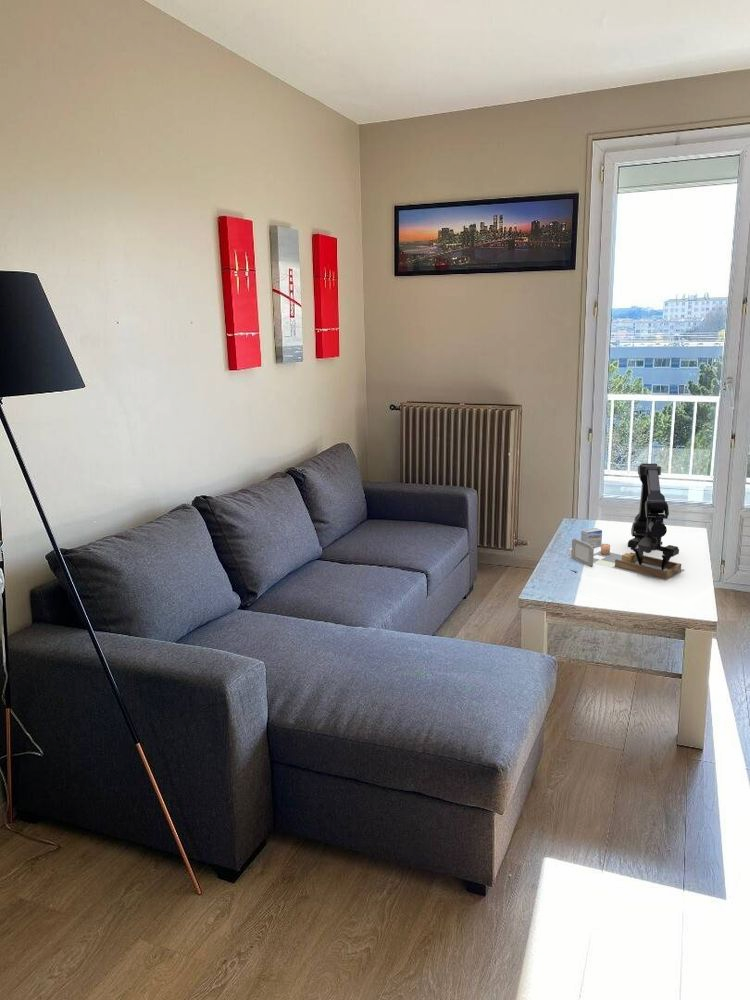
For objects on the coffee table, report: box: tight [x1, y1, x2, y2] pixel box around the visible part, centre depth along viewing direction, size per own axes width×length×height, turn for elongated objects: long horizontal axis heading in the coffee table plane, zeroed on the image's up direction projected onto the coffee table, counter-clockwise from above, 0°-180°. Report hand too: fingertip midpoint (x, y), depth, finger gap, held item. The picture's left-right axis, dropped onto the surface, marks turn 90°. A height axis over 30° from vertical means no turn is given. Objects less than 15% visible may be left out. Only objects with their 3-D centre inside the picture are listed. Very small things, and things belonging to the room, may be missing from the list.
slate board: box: [593, 550, 686, 582], centre depth 304 cm, size 17×36×1 cm, turn 44°
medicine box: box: [580, 527, 603, 549], centre depth 328 cm, size 8×4×9 cm, turn 112°
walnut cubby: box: [615, 552, 682, 580], centre depth 299 cm, size 13×21×3 cm, turn 44°
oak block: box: [621, 552, 636, 564], centre depth 304 cm, size 4×4×4 cm
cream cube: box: [568, 546, 572, 557], centre depth 318 cm, size 4×4×4 cm
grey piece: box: [570, 538, 595, 573], centre depth 306 cm, size 13×9×10 cm
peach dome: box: [600, 543, 611, 555], centre depth 317 cm, size 4×4×4 cm
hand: (651, 567), depth 298 cm, fingers open, 9 cm apart
